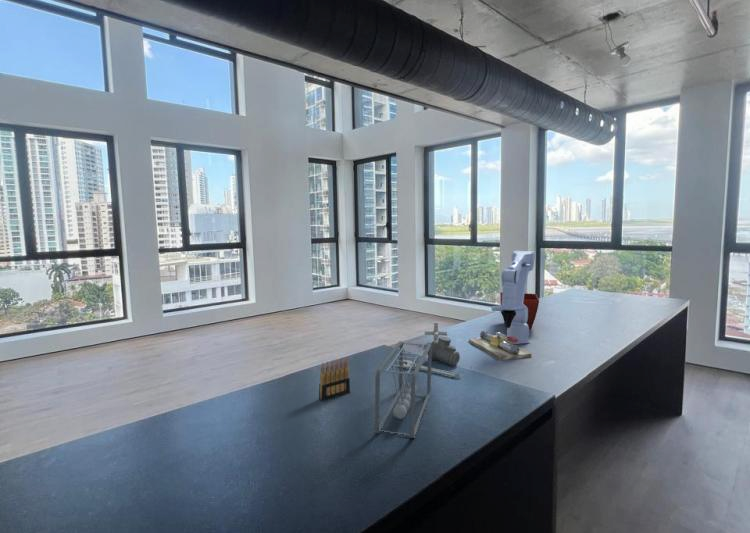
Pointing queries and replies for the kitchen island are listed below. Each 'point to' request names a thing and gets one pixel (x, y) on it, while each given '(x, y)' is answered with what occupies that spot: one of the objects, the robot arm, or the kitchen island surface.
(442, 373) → the adjustable wrench
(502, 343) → the valve pipe
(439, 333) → the pipe connector
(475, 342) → the valve board
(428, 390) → the newton's cradle
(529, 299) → the plant pot
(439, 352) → the pipe fitting
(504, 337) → the valve lever
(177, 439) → the kitchen island surface
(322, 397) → the ammunition clip
